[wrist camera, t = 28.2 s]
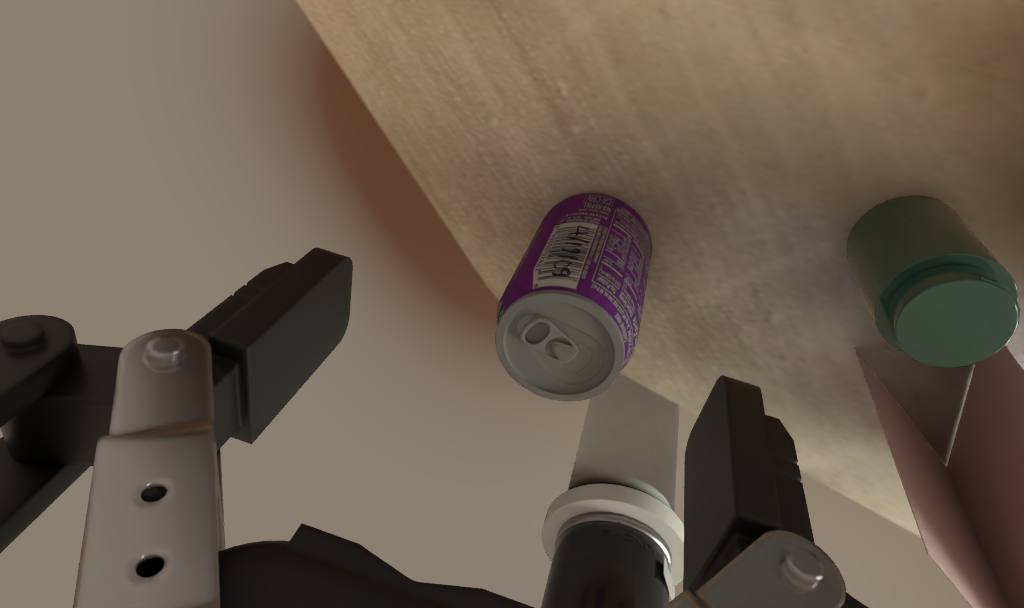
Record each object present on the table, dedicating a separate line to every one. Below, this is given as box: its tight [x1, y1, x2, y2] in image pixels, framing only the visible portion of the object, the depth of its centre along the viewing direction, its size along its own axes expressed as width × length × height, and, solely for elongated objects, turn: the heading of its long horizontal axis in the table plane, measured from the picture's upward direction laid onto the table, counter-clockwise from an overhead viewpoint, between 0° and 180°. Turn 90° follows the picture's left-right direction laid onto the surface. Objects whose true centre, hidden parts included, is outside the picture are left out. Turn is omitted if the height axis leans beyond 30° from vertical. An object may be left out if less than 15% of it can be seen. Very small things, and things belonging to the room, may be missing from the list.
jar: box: [847, 196, 1020, 368], centre depth 30 cm, size 6×6×8 cm
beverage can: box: [495, 193, 652, 401], centre depth 34 cm, size 7×7×12 cm
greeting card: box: [854, 346, 1024, 608], centre depth 32 cm, size 11×7×15 cm, turn 8°
